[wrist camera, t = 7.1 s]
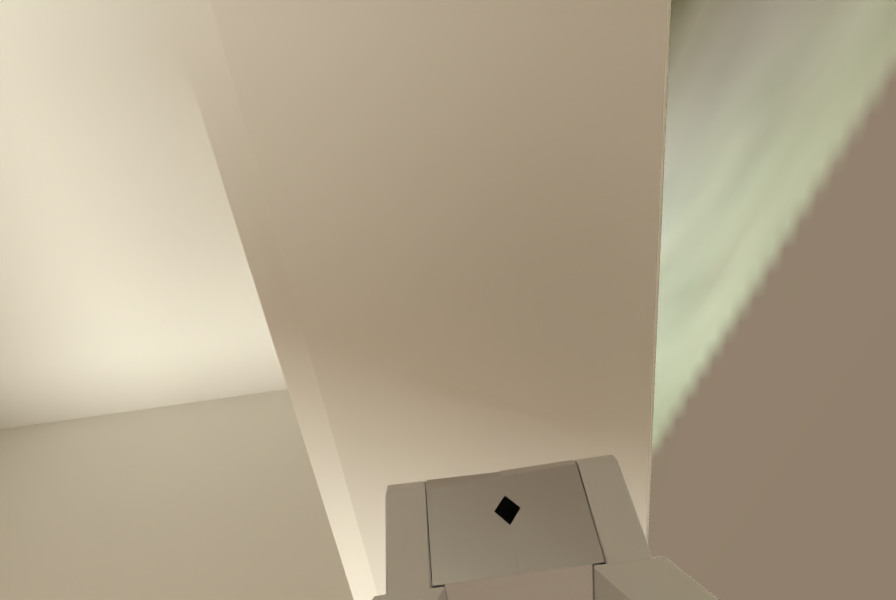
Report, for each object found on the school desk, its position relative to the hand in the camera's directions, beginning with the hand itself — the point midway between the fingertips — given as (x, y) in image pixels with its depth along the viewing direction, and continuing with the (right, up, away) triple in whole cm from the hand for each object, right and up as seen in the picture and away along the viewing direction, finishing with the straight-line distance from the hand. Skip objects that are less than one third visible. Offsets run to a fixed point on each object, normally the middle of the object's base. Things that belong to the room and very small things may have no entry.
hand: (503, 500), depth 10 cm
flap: (-3, +2, +3) cm, 5 cm away
